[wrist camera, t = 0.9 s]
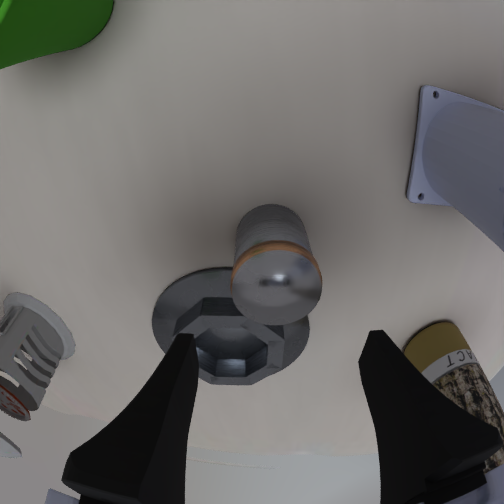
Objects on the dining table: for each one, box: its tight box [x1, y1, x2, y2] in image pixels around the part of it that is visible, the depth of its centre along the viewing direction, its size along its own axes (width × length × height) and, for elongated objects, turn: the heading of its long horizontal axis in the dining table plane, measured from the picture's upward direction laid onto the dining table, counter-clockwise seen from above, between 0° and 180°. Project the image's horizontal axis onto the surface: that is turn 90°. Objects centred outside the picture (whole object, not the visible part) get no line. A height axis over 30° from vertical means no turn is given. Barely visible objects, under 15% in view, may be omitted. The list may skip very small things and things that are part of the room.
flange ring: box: [152, 268, 310, 385], centre depth 24 cm, size 13×13×2 cm
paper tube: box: [404, 322, 504, 474], centre depth 16 cm, size 7×7×25 cm
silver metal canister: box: [230, 204, 322, 325], centre depth 18 cm, size 5×5×6 cm
